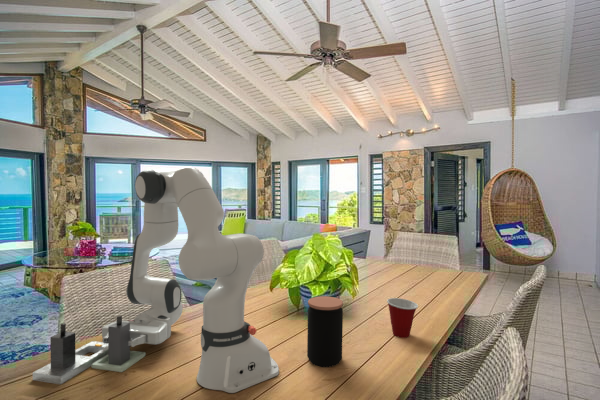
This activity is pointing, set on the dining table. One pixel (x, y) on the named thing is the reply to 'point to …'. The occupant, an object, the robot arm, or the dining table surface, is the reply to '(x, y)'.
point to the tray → (104, 365)
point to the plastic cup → (401, 316)
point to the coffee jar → (325, 331)
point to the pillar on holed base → (68, 358)
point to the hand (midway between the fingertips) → (117, 342)
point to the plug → (118, 342)
